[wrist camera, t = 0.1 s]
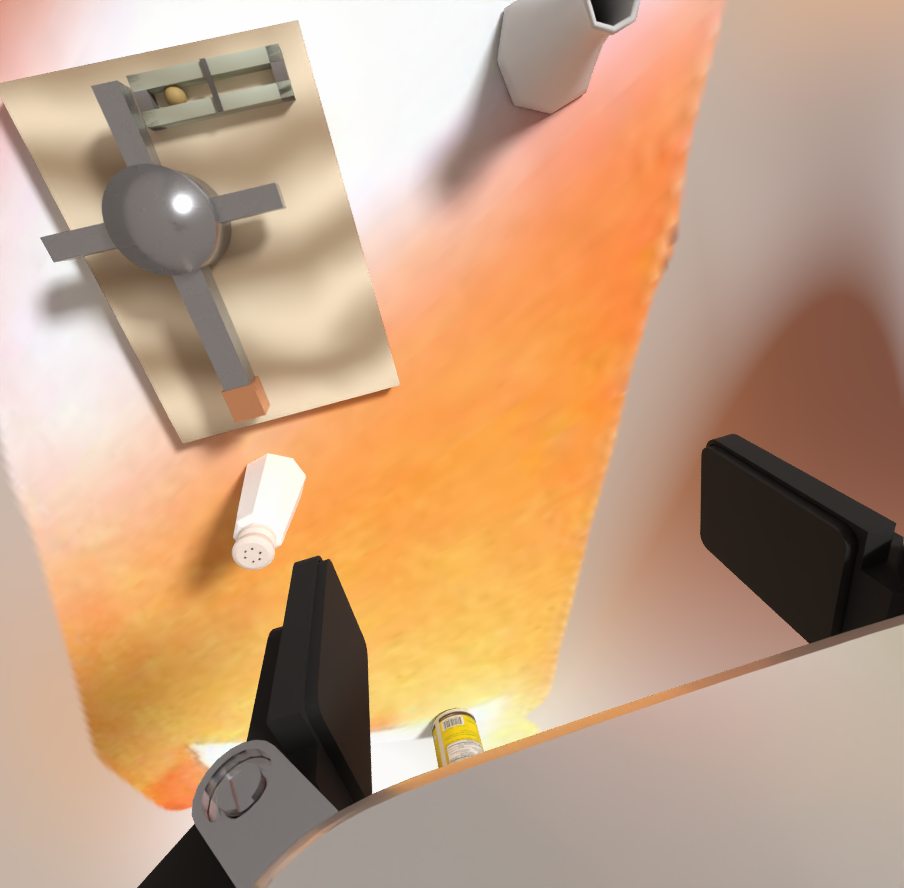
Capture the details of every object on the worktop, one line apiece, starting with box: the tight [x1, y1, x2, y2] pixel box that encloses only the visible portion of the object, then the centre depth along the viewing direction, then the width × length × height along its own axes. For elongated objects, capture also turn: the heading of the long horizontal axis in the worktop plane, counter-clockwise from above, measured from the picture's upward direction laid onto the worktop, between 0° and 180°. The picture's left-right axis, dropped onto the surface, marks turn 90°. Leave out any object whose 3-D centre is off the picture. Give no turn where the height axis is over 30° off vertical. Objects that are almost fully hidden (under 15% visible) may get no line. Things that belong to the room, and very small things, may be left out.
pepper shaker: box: [232, 453, 306, 570], centre depth 38 cm, size 5×5×11 cm
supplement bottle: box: [432, 708, 484, 768], centre depth 57 cm, size 6×6×10 cm
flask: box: [497, 0, 640, 114], centre depth 30 cm, size 7×7×10 cm
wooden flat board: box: [0, 20, 400, 444], centre depth 34 cm, size 24×18×3 cm
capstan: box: [41, 80, 286, 423], centre depth 32 cm, size 20×14×4 cm
